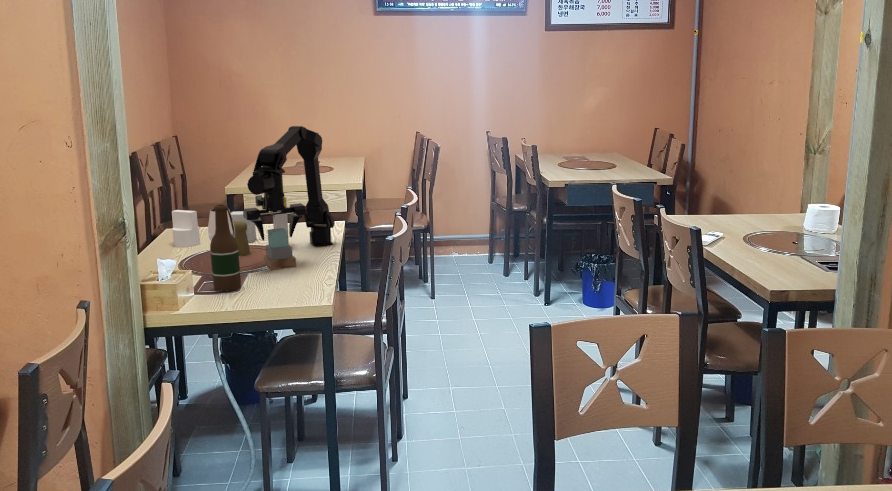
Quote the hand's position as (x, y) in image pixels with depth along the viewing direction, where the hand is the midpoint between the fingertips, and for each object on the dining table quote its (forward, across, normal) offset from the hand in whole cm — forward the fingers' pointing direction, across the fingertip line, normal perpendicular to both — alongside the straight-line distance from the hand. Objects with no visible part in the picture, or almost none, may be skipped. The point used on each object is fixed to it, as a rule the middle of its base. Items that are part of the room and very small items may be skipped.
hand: (277, 238), depth 240 cm
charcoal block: (+6, 0, 0) cm, 6 cm away
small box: (+9, +2, -41) cm, 42 cm away
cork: (+9, +7, -22) cm, 25 cm away
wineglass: (+9, +17, +2) cm, 19 cm away
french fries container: (+9, -7, -24) cm, 27 cm away
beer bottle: (+9, +19, +17) cm, 27 cm away
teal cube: (+2, 0, 0) cm, 2 cm away
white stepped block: (+9, +21, -46) cm, 51 cm away
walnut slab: (+9, 0, 0) cm, 9 cm away
